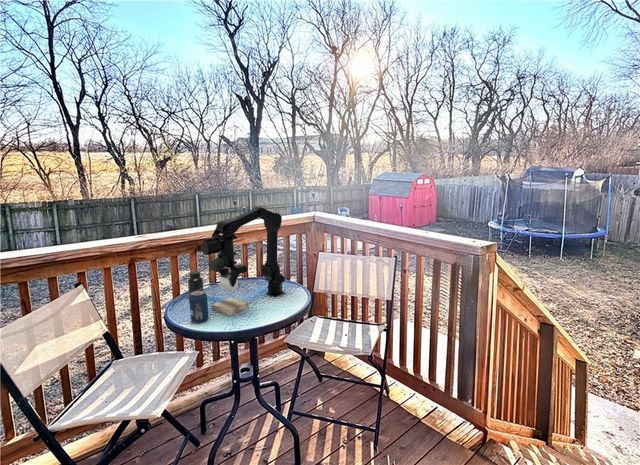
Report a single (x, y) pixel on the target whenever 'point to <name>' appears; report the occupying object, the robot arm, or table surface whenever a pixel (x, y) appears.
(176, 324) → the table surface
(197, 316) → the soda can
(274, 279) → the robot arm
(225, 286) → the block
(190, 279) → the supplement bottle
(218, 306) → the thin beige square tile
